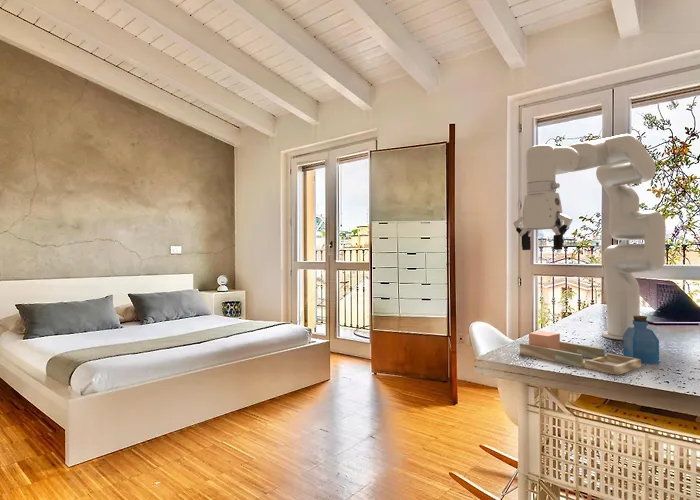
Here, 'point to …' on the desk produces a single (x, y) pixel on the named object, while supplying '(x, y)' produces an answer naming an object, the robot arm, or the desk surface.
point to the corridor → (576, 352)
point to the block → (545, 339)
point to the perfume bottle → (641, 342)
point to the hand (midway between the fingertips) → (541, 249)
